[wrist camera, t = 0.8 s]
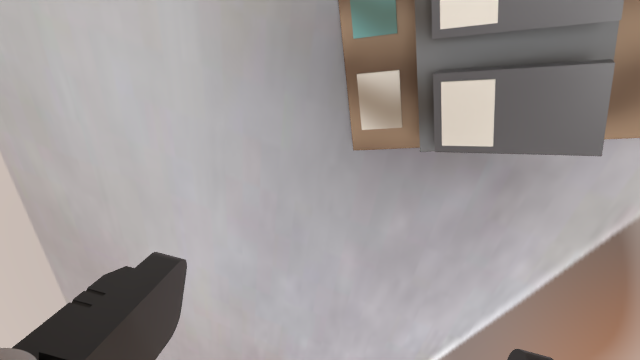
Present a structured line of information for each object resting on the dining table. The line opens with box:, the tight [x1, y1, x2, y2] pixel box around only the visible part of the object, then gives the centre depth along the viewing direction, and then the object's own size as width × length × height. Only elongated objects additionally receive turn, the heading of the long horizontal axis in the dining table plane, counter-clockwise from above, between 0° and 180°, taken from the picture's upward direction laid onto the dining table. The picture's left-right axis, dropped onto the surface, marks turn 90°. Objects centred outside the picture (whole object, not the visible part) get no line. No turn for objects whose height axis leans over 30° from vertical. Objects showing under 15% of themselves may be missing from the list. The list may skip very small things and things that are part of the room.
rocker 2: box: [433, 59, 615, 156], centre depth 24 cm, size 5×9×2 cm, turn 97°
